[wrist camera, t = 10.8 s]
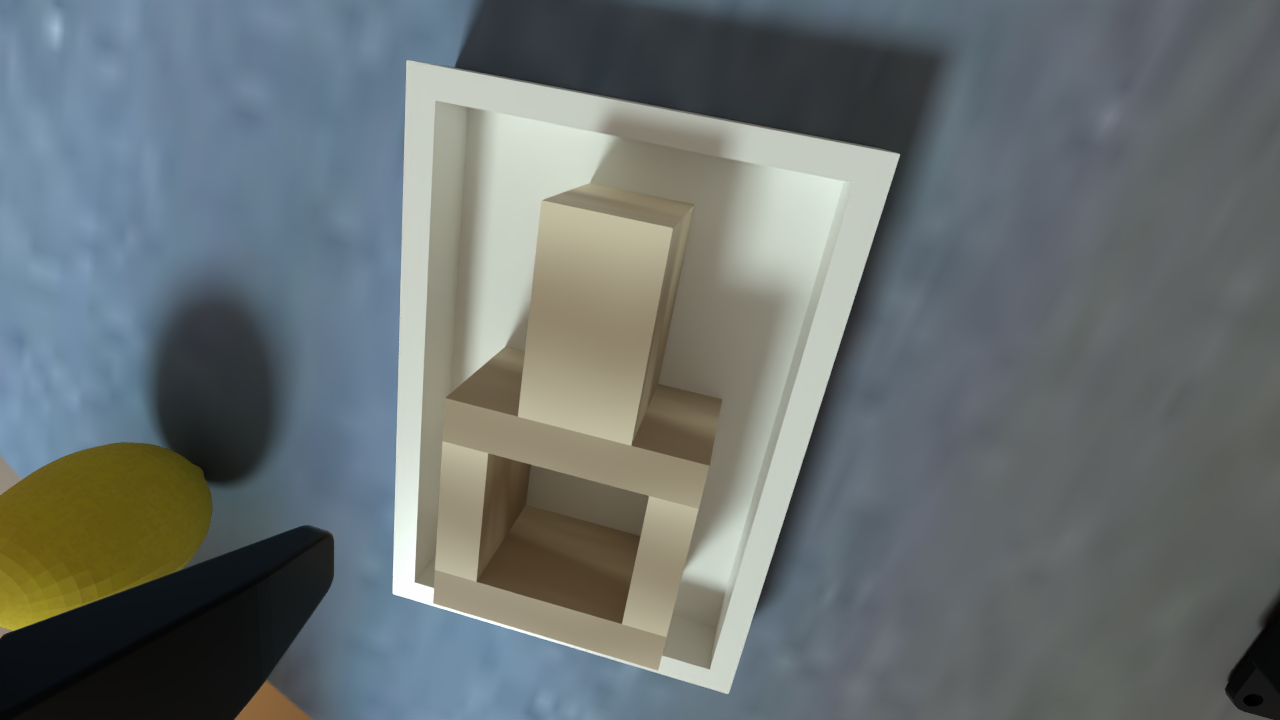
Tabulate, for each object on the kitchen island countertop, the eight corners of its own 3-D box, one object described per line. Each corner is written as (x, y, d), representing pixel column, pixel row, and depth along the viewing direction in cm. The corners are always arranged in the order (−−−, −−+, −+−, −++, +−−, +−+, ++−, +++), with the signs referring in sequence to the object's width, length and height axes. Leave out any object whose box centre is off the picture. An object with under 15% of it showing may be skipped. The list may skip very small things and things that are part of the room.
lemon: (148, 383, 24) (-121, 497, 17) (273, 453, 24) (58, 598, 17) (130, 486, 27) (-115, 626, 19) (245, 551, 27) (44, 716, 19)
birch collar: (677, 578, 22) (658, 670, 18) (488, 524, 23) (432, 603, 19) (767, 219, 17) (764, 247, 13) (522, 168, 18) (457, 182, 14)
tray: (453, 67, 18) (406, 60, 16) (883, 148, 17) (900, 154, 14) (428, 549, 25) (392, 593, 22) (733, 636, 23) (728, 694, 21)
